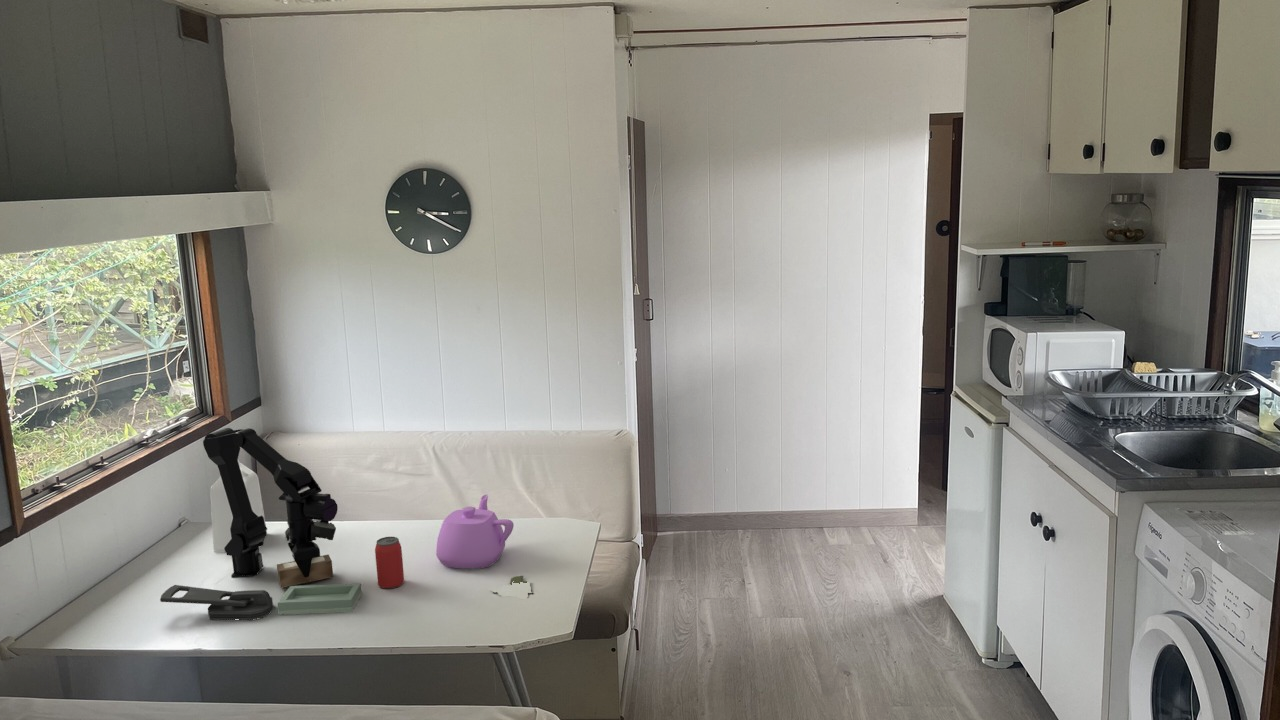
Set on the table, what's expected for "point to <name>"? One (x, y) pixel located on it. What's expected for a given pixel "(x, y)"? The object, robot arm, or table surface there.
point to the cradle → (320, 598)
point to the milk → (222, 508)
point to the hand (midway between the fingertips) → (305, 573)
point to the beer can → (389, 562)
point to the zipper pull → (224, 602)
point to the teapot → (472, 537)
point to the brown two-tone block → (293, 575)
